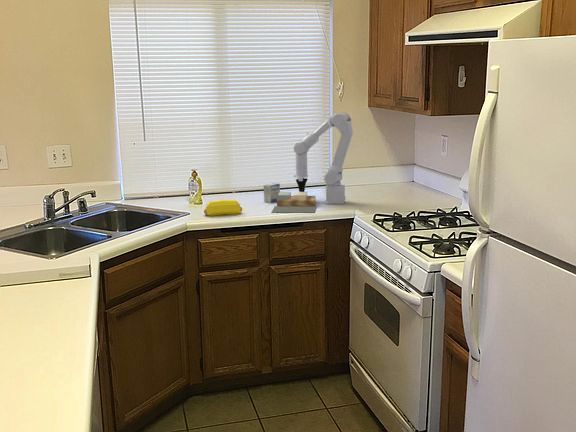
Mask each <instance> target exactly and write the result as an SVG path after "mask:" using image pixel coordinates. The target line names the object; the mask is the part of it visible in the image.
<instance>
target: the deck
mask: <svg viewBox="0 0 576 432" xmlns="http://www.w3.org/2000/svg"><path fill="white" fill-rule="evenodd" d="M316 202H317V201H316V195H307V198H306V200H294V195H291V197H290V199H289V200H278V199H277V201H276V206H316Z"/></svg>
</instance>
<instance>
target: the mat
mask: <svg viewBox="0 0 576 432" xmlns="http://www.w3.org/2000/svg"><path fill="white" fill-rule="evenodd" d="M316 209H317V205H314V206H277V205H274V207H273V209H272V210H271V214H314V213H315V214H316Z"/></svg>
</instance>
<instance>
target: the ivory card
mask: <svg viewBox="0 0 576 432" xmlns="http://www.w3.org/2000/svg"><path fill="white" fill-rule="evenodd" d="M293 196H294V200H306V198H307V196H308V191H304V192H299V191H294V193H293Z"/></svg>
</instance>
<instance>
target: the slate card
mask: <svg viewBox="0 0 576 432" xmlns="http://www.w3.org/2000/svg"><path fill="white" fill-rule="evenodd" d="M291 196H292V191H280V192H279V194H278V200H289V199H290V197H291Z"/></svg>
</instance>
